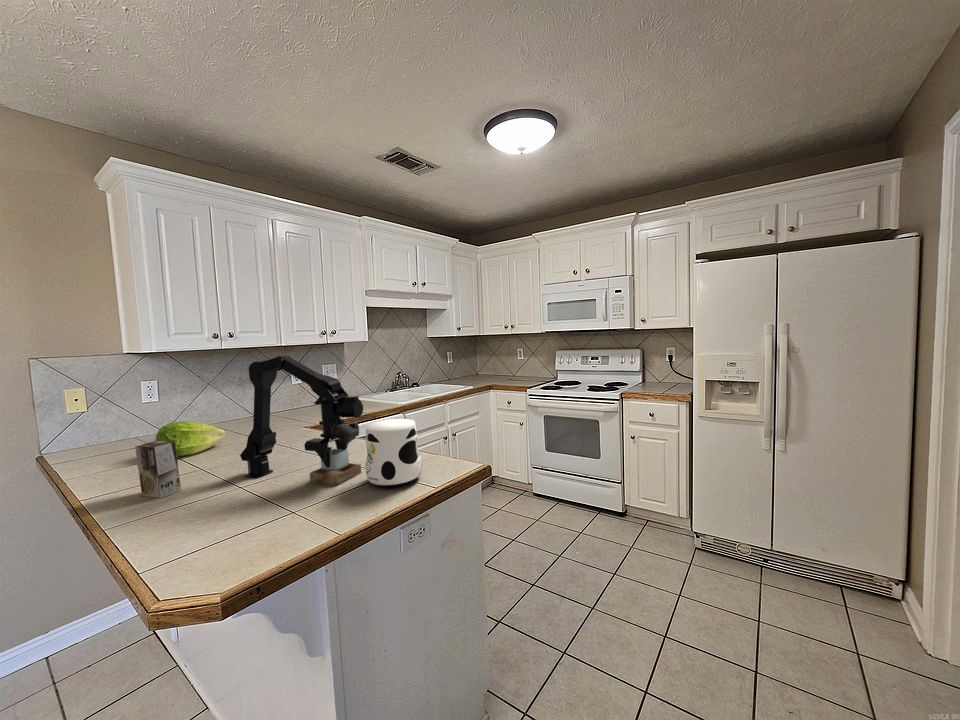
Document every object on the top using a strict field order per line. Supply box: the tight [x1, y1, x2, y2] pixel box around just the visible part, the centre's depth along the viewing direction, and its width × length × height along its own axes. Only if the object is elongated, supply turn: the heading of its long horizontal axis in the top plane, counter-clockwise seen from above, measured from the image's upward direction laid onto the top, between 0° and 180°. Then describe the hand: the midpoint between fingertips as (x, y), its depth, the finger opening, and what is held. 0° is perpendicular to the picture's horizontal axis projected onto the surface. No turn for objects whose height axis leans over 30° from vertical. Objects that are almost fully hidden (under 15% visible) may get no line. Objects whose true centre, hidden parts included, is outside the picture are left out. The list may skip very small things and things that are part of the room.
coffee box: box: [134, 440, 182, 499], centre depth 125 cm, size 9×6×16 cm
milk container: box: [364, 418, 423, 488], centre depth 125 cm, size 17×17×18 cm
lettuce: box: [155, 421, 226, 458], centre depth 171 cm, size 17×24×14 cm
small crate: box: [320, 448, 350, 471], centre depth 131 cm, size 6×6×5 cm
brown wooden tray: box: [309, 462, 362, 487], centre depth 131 cm, size 11×11×3 cm
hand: (335, 464), depth 131 cm, fingers closed on small crate, 6 cm apart
